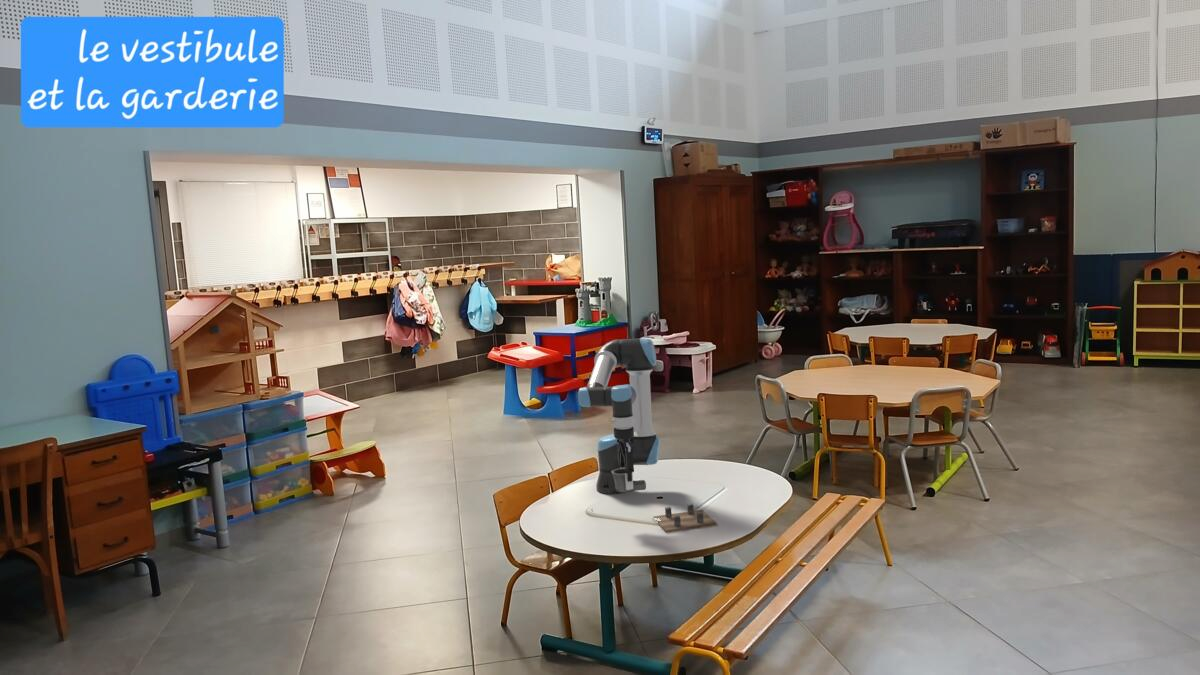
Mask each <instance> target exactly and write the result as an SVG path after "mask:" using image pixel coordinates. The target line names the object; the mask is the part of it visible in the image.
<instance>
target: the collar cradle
mask: <svg viewBox="0 0 1200 675" xmlns="http://www.w3.org/2000/svg"><path fill="white" fill-rule="evenodd" d="M686 506H687V508H686V509H687V511H681V512H676V513H672V507H671V506H668V507H664V513H665V514H662V515H661V514H660V515H655V516H652V518H653V517H654V518H657V519H658V518H659V519H660V520H661V521H657V520H656V521H657V522H658V524H659V525H658V524H657V525H658V526H659V527H660V528H661V529H662V530H663V531H664V532H665V533H674V532H681V531H685V530H686V531H687V530H693V529H700V528H706V527H712V526H718V522H717V521H716V520H714V518H713V517H711V516H710V515H709V514H708V513H706V511H704V510H703V509H696V510H695V509H694V508H695V507H694V506H695V505H694V504H693V503H689V504H686Z"/></svg>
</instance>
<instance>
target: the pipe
mask: <svg viewBox="0 0 1200 675" xmlns="http://www.w3.org/2000/svg"><path fill="white" fill-rule="evenodd" d="M624 472H626V470H625V469H624V468H620V469H615V470H612V471H611V473H612V475H613V478H614V481H615V488H616V490H617V491H618V492H622V493H627V492H629V491H645V490H646V489H647V482H646V481H645V479H639V480H633V489H630V490H626V483H625V474H624Z"/></svg>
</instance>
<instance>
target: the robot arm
mask: <svg viewBox="0 0 1200 675" xmlns="http://www.w3.org/2000/svg"><path fill="white" fill-rule="evenodd" d="M593 360H594V361H593V362H594V367H593V369H592V372H591V374H590V378H589V380H588V382H587V385H586V386H584V387H580V388H579V389H578V392H577V398H578V399H577V400H578V404H579V406H580V407H583V408H585V407H586V408H592V407H593V408H596V407H597V408H598V407H611V408H612V418H613V419H611V423H613V424H612V425H613V434H608V435H605V436H603V437H601V438H599V439H598V441H597V453H598V454H597V457H598V469H599V470H598V471H599V473H598V477H597V479H596V480H597V481H596V484H595V485H596V491H597V492H599V493H602V494H609V495H610V494H612V495H613V494H620V493H621V494H622V493H623V492H618V491H617V490H616V488H615V481H614V478H613V475H612V473H611V471H612V470H615V469H620V468H624V469H625V470H626V472H624V474H625V483H626V490H630V489H633V481H634V478H633V477H634V476H633V473H634V472H635V468H634V466H652V465H656V464H657V463H658V461H659V458H660V457H659V456H660V449H661V438H660V437H659V436H657V432H656V431H655V430H654V429H653V416H652V395H651V377H650V376H651V374H652V372H653V371H654V367H655V366H656V365H657V354H656V348H655V345H654V342H653V340H652V339H650V338H642V337H640V338H639V337H638V338H625V339H624V338H623V339H613V340H610V341H609V342H608V341H607V342H606V343H605V344H604V345H603V346H601V347H600V348H599V350H597V352H596V354H595V356H594V358H593ZM617 367H625V372H626V373H627V374H628V375H629V384H620V385H619V384H617V385H615V386H608V384H609V381H610V378H611V375H612V372H613V370H614V369H616V368H617Z"/></svg>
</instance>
